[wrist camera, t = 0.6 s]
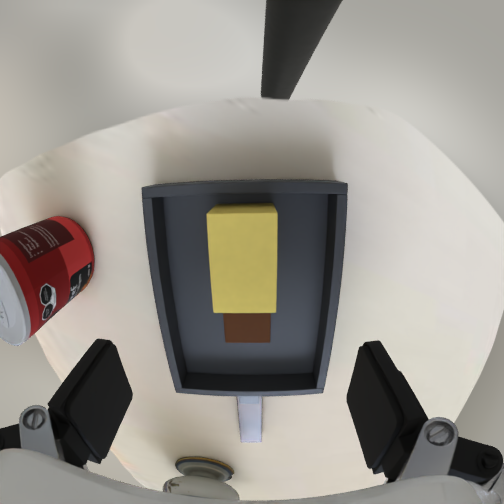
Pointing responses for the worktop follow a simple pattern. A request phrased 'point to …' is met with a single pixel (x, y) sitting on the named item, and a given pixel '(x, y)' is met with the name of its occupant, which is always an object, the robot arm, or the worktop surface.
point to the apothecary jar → (202, 479)
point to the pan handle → (250, 418)
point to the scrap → (247, 327)
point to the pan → (288, 286)
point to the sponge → (243, 257)
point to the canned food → (41, 274)
